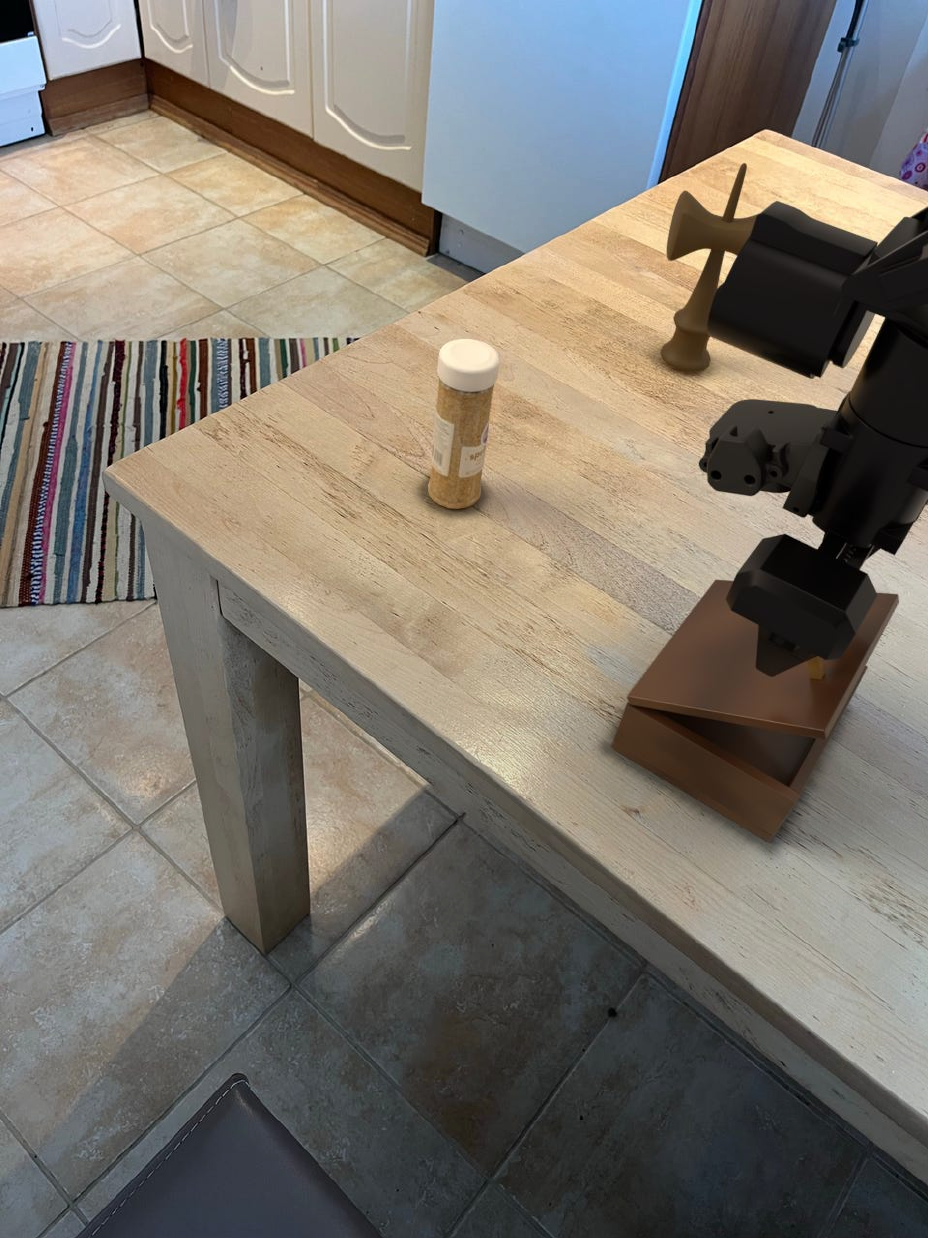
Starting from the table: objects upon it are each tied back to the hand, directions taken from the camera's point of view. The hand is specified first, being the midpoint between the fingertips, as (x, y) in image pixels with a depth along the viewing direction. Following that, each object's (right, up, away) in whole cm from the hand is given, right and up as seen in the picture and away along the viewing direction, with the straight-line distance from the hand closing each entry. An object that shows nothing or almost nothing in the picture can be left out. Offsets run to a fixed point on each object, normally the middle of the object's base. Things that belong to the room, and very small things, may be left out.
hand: (793, 626), depth 57 cm
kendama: (+3, +27, +40) cm, 48 cm away
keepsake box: (-2, -7, +8) cm, 11 cm away
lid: (-1, -2, +3) cm, 3 cm away
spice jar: (-21, +11, +22) cm, 33 cm away
